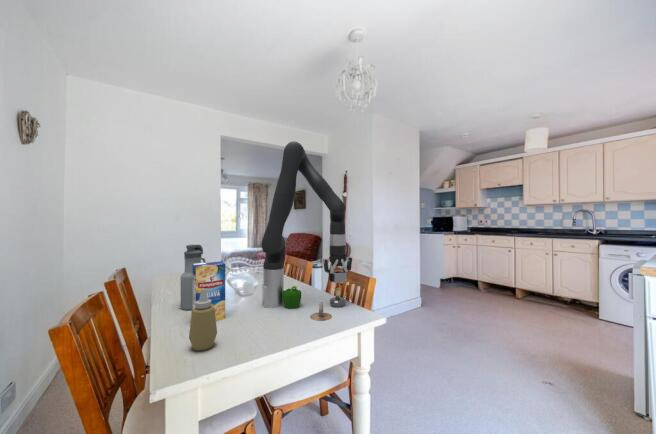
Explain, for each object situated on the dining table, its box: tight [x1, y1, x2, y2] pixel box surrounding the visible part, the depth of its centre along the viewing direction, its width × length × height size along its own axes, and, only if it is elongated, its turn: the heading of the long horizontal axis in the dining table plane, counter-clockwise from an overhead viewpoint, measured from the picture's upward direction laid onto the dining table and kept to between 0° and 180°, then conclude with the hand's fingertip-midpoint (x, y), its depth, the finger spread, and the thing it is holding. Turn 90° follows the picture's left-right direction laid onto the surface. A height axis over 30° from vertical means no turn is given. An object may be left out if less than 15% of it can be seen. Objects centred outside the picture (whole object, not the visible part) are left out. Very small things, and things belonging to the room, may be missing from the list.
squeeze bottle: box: [188, 289, 218, 352], centre depth 84 cm, size 8×8×18 cm
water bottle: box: [180, 244, 206, 311], centre depth 120 cm, size 10×10×28 cm
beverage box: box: [191, 261, 226, 321], centre depth 106 cm, size 7×11×22 cm, turn 127°
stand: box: [309, 301, 333, 322], centre depth 108 cm, size 9×9×6 cm
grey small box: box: [332, 269, 348, 284], centre depth 121 cm, size 6×6×4 cm
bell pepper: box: [282, 285, 302, 310], centre depth 119 cm, size 8×8×10 cm
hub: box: [329, 287, 346, 309], centre depth 121 cm, size 10×10×8 cm
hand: (337, 280), depth 121 cm, fingers closed on grey small box, 6 cm apart
